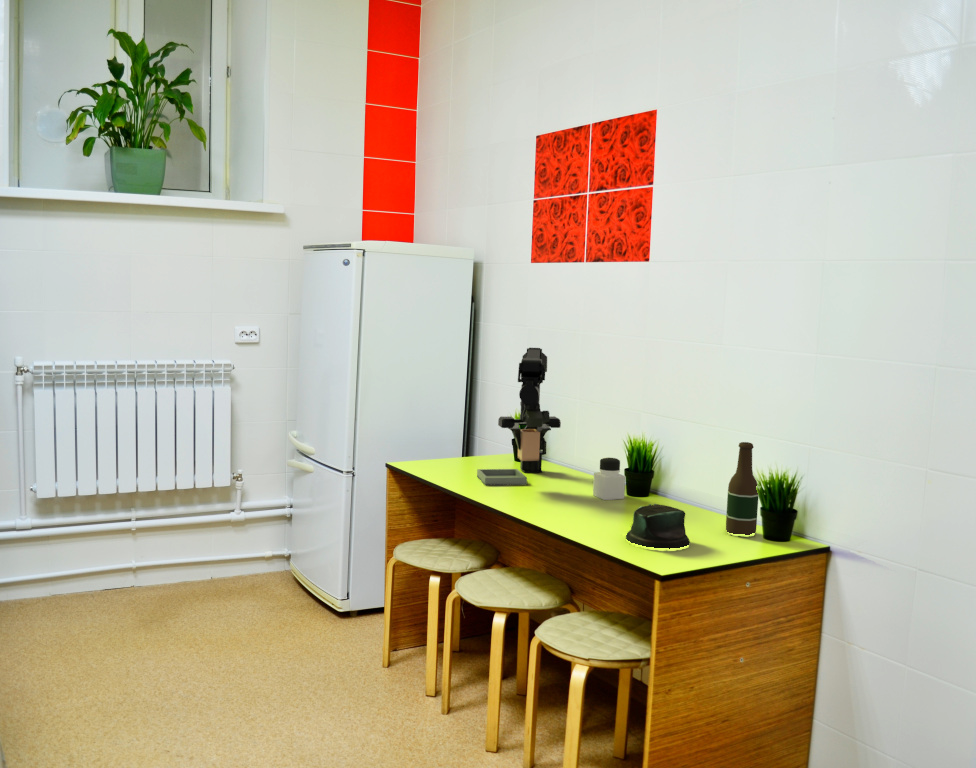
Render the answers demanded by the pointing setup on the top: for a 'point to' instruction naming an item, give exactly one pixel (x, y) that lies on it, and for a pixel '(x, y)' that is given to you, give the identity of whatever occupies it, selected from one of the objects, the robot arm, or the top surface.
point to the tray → (501, 477)
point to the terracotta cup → (529, 445)
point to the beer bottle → (742, 495)
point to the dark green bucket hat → (658, 527)
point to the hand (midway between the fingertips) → (528, 449)
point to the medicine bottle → (609, 480)
